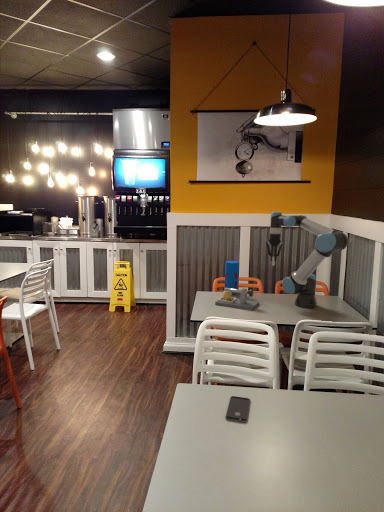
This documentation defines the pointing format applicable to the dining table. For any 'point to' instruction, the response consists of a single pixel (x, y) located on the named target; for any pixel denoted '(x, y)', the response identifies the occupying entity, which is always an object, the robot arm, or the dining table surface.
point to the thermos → (231, 275)
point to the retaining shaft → (239, 291)
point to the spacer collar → (227, 295)
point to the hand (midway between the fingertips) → (273, 265)
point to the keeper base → (238, 302)
